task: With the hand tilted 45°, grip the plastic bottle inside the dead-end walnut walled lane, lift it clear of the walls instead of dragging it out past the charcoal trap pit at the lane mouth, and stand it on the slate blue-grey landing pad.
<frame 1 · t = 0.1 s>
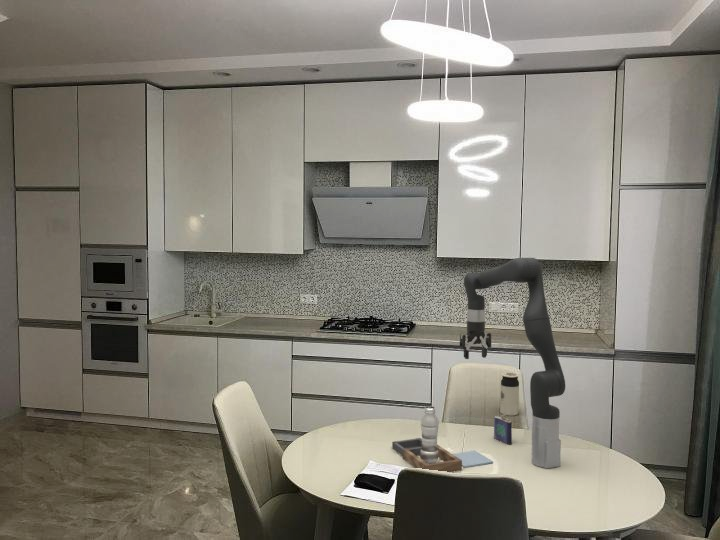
hand: (475, 358, 257), 29 cm above the table, tool pointing down, fingers open, 8 cm apart
trap pit: (412, 450, 230), on the table
flask: (502, 441, 241), on the table
walled lane: (429, 462, 218), on the table
plastic bottle: (429, 463, 218), resting in walled lane
landing pad: (469, 459, 221), on the table
travel mug: (509, 413, 278), on the table
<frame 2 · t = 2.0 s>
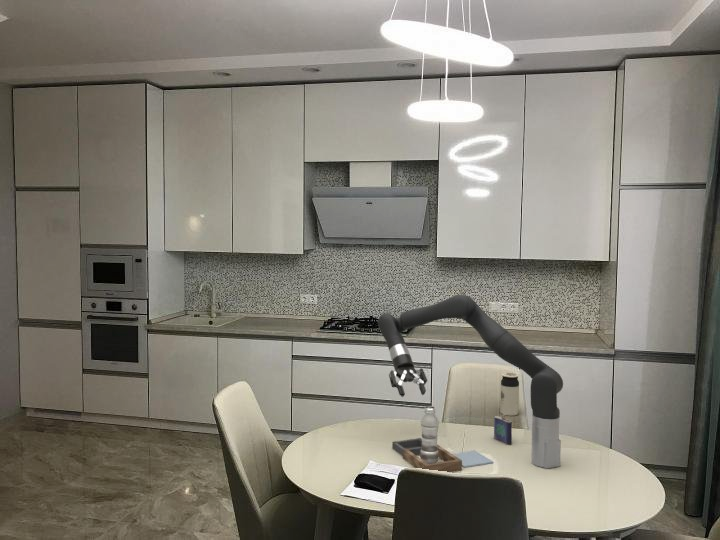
hand: (413, 394, 229), 21 cm above the table, tool tilted 45°, fingers open, 8 cm apart
nothing on the table moved.
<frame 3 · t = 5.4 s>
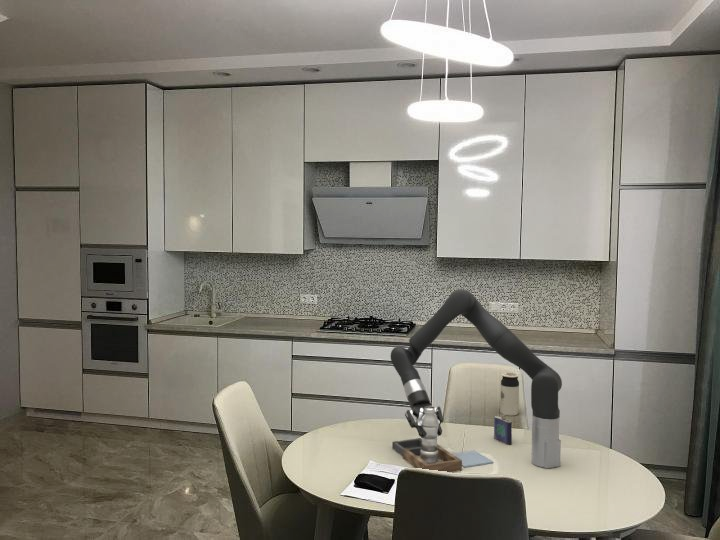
hand: (431, 435, 216), 10 cm above the table, tool tilted 45°, fingers closed on plastic bottle, 6 cm apart
plastic bottle: (429, 463, 218), resting in walled lane, touching gripper
everything else where it was.
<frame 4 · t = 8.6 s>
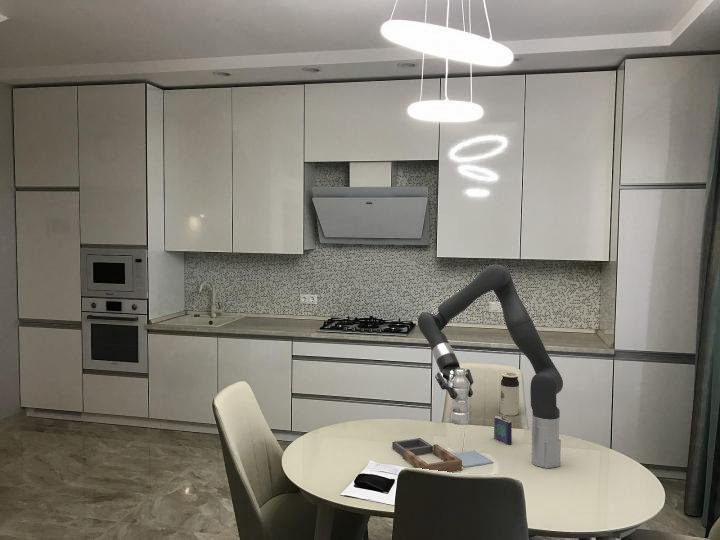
hand: (462, 396, 217), 24 cm above the table, tool tilted 45°, fingers closed on plastic bottle, 6 cm apart
plastic bottle: (460, 424, 219), point 13 cm above the table, touching gripper
everything else where it was.
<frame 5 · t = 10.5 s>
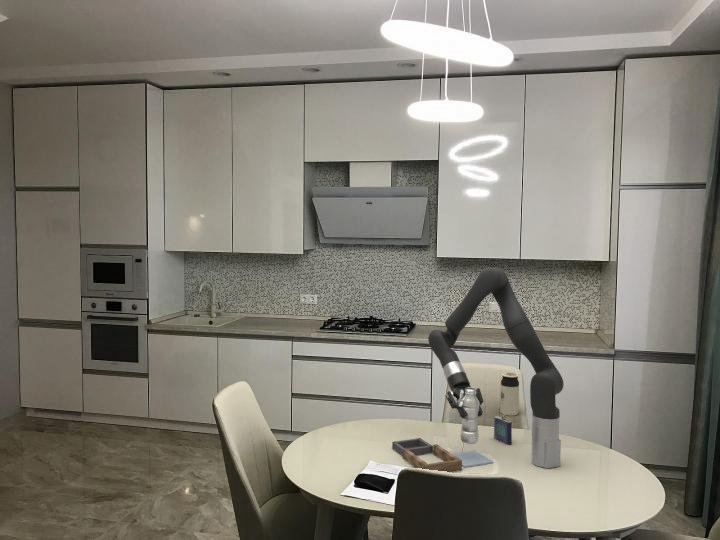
hand: (472, 416, 219), 16 cm above the table, tool tilted 45°, fingers closed on plastic bottle, 6 cm apart
plastic bottle: (469, 443, 221), point 6 cm above the table, touching gripper
everything else where it was.
when the fingers open (12 cm above the table, at t = 11.9 s): plastic bottle drops 1 cm, resting on landing pad.
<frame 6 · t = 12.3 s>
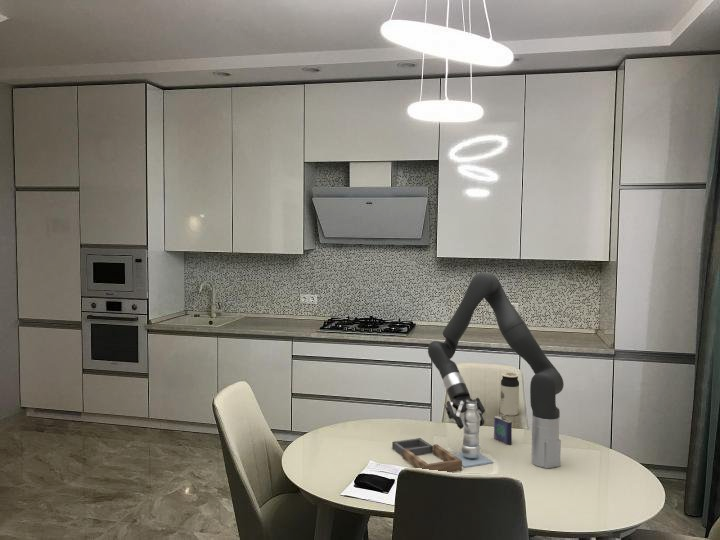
hand: (472, 426, 219), 13 cm above the table, tool tilted 45°, fingers open, 8 cm apart
plastic bottle: (470, 458, 221), resting on landing pad
everything else where it was.
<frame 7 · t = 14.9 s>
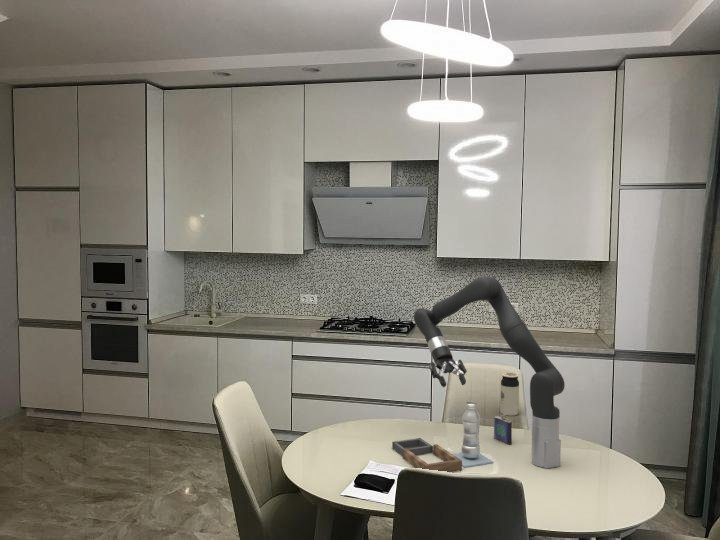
hand: (454, 385, 235), 24 cm above the table, tool tilted 45°, fingers open, 8 cm apart
nothing on the table moved.
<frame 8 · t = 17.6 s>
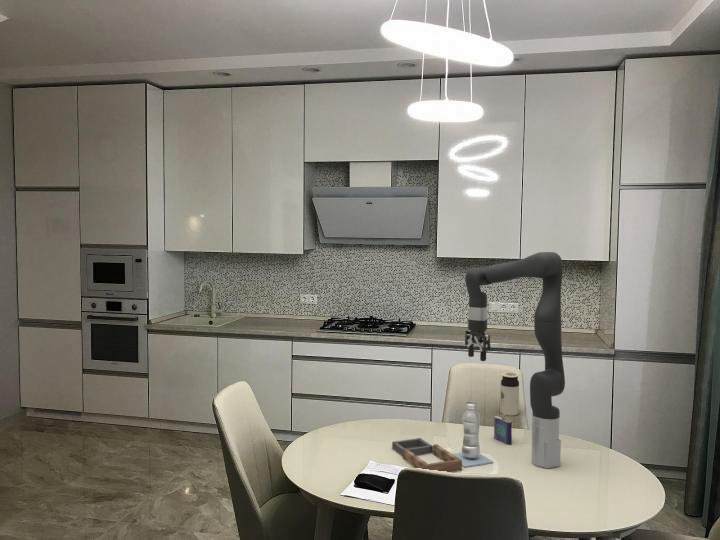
hand: (477, 358, 242), 32 cm above the table, tool pointing down, fingers open, 8 cm apart
nothing on the table moved.
at the end: plastic bottle inside the target area on the landing pad (0.7 cm from its centre), point 0.4 cm above the landing pad's base; plastic bottle tilted 0°; the gripper is holding nothing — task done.
